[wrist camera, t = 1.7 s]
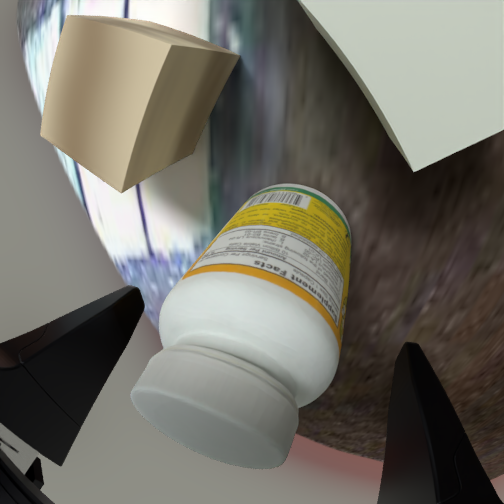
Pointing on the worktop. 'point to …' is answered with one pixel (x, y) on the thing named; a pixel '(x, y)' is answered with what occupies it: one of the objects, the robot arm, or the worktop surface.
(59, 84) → the maple block
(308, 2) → the white cube
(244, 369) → the supplement bottle
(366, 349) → the worktop surface
